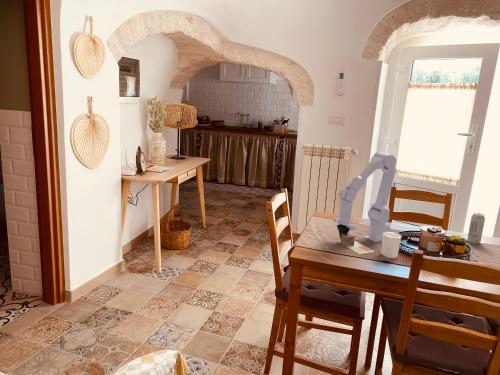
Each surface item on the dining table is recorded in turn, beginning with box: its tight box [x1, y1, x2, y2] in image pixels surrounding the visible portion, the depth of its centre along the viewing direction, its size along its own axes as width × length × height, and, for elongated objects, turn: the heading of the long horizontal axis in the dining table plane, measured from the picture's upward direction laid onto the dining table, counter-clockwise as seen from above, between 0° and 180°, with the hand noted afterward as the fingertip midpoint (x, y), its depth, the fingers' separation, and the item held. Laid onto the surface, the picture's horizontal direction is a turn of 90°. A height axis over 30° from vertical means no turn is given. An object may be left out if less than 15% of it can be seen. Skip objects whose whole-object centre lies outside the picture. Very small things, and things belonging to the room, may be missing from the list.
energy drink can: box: [467, 212, 486, 245], centre depth 195 cm, size 6×6×15 cm
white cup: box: [381, 231, 402, 259], centre depth 172 cm, size 8×8×10 cm
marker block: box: [340, 233, 356, 247], centre depth 183 cm, size 4×4×4 cm
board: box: [338, 240, 376, 255], centre depth 181 cm, size 9×16×1 cm, turn 24°
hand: (342, 239), depth 187 cm, fingers closed
